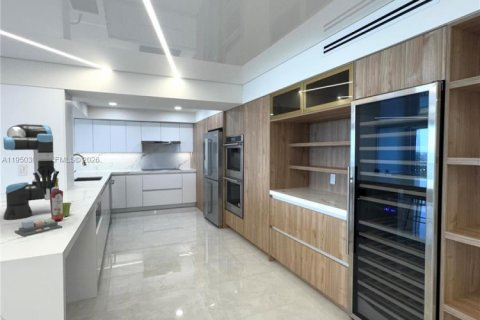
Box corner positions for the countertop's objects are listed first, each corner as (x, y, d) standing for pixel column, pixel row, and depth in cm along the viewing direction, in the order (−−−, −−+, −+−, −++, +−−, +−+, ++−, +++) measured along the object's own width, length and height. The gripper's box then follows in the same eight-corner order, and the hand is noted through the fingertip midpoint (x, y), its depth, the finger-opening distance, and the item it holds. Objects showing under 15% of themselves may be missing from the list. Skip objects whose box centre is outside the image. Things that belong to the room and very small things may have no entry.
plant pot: (54, 218, 172) (53, 205, 172) (56, 215, 181) (56, 203, 180) (70, 216, 177) (70, 204, 176) (72, 213, 185) (72, 201, 185)
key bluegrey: (21, 227, 142) (21, 221, 142) (30, 225, 146) (30, 220, 146) (25, 228, 140) (24, 222, 140) (33, 226, 144) (33, 221, 144)
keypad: (14, 232, 143) (14, 227, 143) (51, 224, 159) (51, 219, 158) (24, 236, 137) (24, 231, 136) (62, 227, 152) (61, 222, 152)
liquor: (53, 222, 162) (51, 179, 161) (48, 221, 166) (46, 178, 165) (66, 220, 168) (64, 177, 167) (60, 218, 172) (59, 177, 171)
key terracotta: (33, 228, 147) (33, 222, 147) (41, 226, 150) (41, 221, 150) (36, 229, 145) (36, 223, 145) (44, 227, 148) (44, 222, 148)
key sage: (43, 226, 151) (43, 220, 151) (51, 224, 155) (51, 219, 155) (47, 227, 149) (46, 221, 149) (54, 225, 153) (54, 220, 153)
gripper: (35, 160, 143) (37, 202, 144) (61, 159, 154) (62, 198, 155) (29, 160, 146) (31, 201, 148) (55, 159, 158) (56, 197, 159)
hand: (47, 199), depth 151 cm, fingers closed
